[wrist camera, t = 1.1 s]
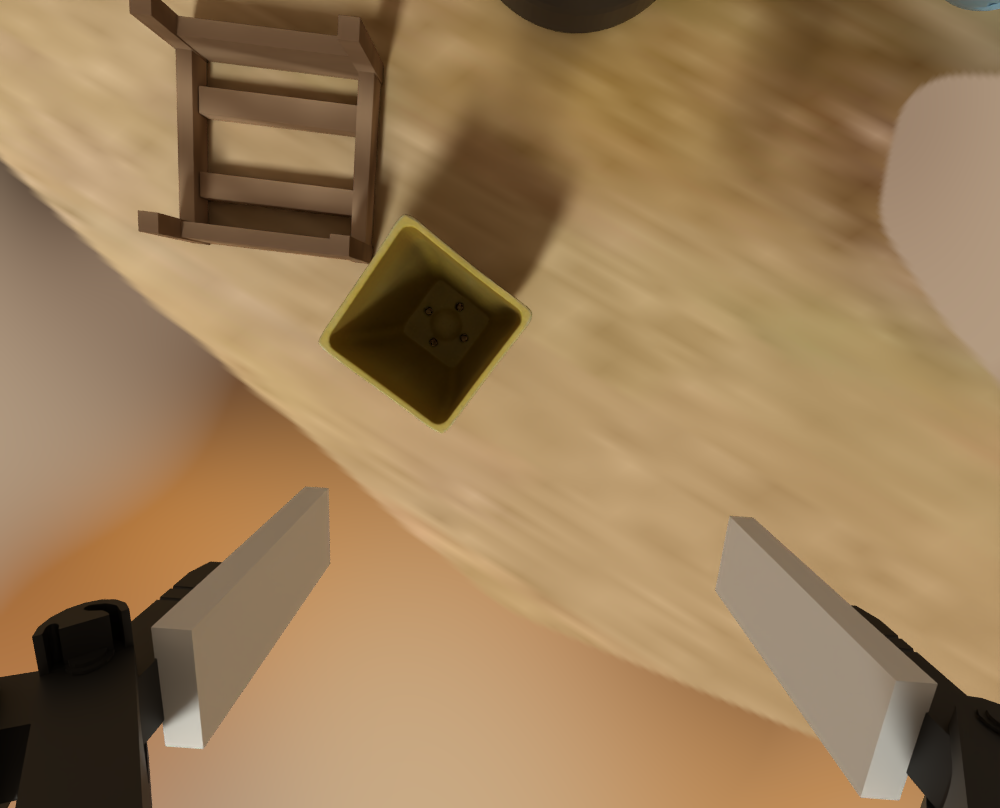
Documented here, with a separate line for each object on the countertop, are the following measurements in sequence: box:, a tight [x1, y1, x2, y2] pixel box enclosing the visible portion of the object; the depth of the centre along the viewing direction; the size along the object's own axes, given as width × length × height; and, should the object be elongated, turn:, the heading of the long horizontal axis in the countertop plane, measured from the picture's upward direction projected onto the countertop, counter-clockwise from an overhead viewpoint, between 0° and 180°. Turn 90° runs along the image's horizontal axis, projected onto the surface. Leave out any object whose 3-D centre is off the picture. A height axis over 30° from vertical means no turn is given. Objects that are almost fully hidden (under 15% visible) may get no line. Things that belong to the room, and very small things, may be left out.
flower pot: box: [318, 214, 532, 433], centre depth 29 cm, size 9×9×9 cm
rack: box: [129, 0, 383, 264], centre depth 29 cm, size 13×13×5 cm
